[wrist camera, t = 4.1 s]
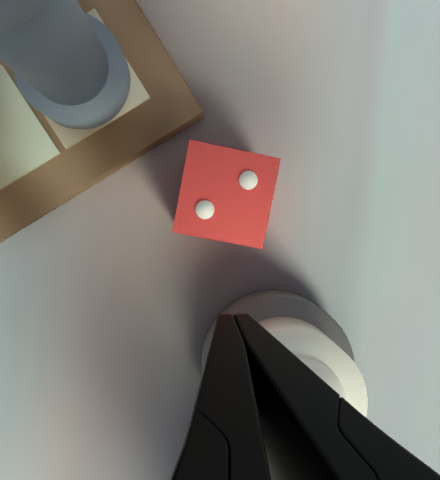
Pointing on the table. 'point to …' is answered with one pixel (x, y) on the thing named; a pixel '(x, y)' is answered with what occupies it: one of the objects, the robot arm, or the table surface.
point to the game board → (95, 139)
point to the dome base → (282, 315)
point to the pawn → (64, 61)
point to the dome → (321, 357)
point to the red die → (226, 194)
